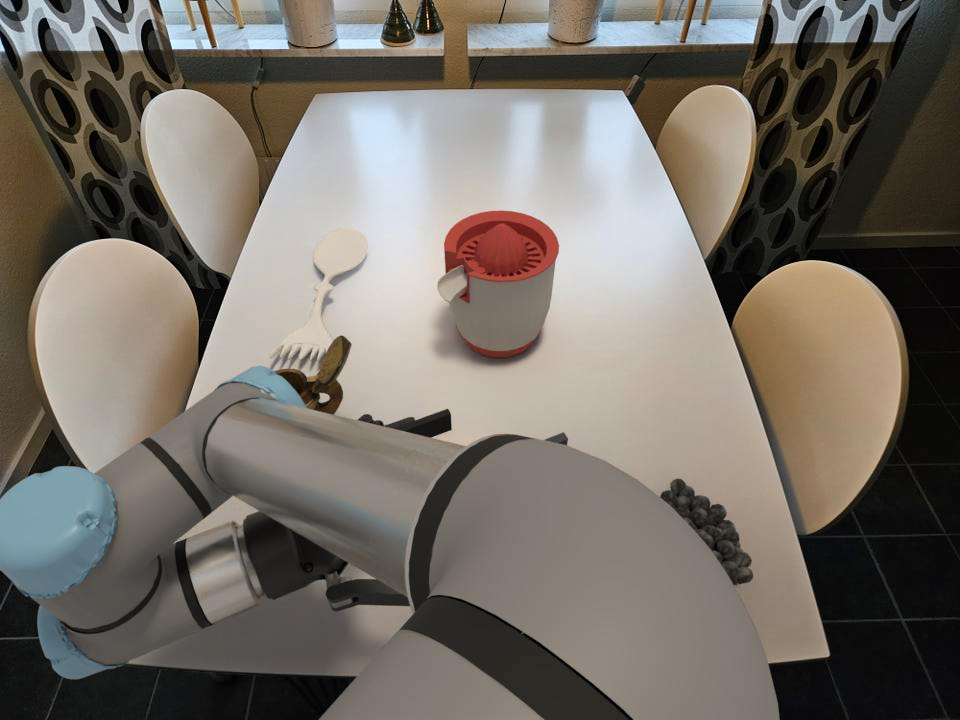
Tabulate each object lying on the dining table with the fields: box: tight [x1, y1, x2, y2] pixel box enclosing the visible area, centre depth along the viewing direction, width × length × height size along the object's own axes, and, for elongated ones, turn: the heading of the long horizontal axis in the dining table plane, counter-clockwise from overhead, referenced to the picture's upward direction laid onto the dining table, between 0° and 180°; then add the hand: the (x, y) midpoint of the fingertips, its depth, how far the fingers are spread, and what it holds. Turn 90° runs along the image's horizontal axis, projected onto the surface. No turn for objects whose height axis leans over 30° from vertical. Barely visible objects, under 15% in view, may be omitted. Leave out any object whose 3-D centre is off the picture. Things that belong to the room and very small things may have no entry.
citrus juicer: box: [436, 210, 560, 358], centre depth 92 cm, size 16×17×20 cm
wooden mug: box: [273, 334, 353, 415], centre depth 79 cm, size 9×14×18 cm, turn 97°
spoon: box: [268, 227, 369, 362], centre depth 104 cm, size 9×32×4 cm, turn 175°
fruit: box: [659, 478, 754, 586], centre depth 73 cm, size 9×8×15 cm
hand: (478, 470), depth 61 cm, fingers open, 13 cm apart
